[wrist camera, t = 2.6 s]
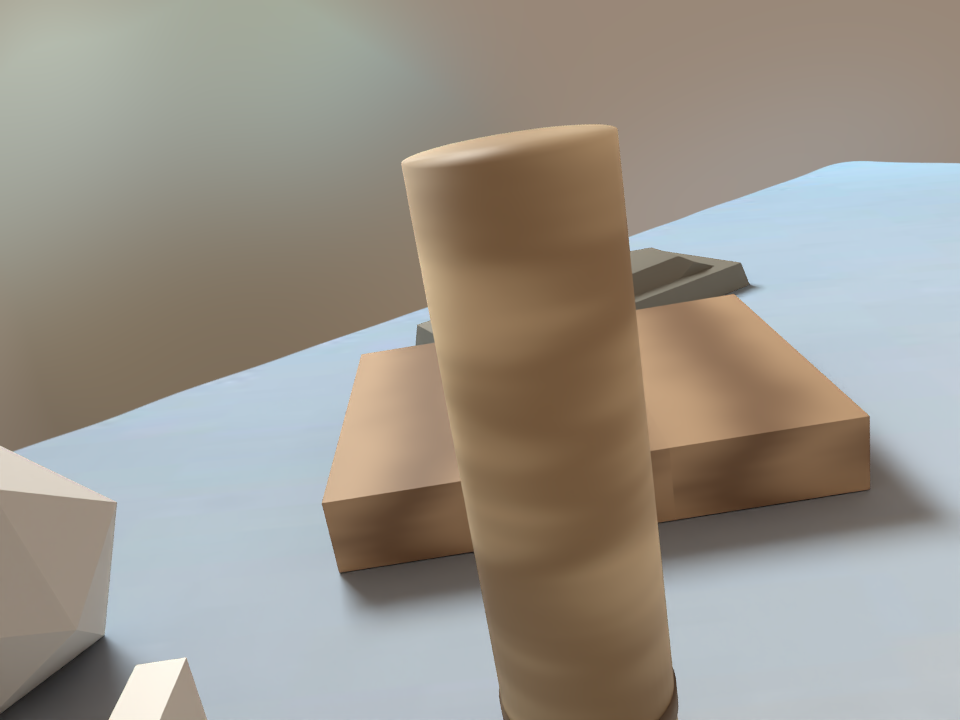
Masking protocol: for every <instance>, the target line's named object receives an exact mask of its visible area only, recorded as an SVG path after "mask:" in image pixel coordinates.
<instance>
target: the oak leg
mask: <svg viewBox="0 0 960 720" xmlns="http://www.w3.org/2000/svg"><path fill="white" fill-rule="evenodd" d="M401 164H402V170H403V175H404V181H405V186H406V191H407V197H408V202H409V208H410V213H411V218H412V224H413V229H414V234H415V240H416V245H417V250H418V256H419V261H420V266H421V271H422V277H423V282H424V288H425V293H426V298H427V304H428V309H429V314H430V320H431V325H432V330H433V336H434V341H435V346H436V352H437V357H438V362H439V368H440V373H441V378H442V384H443V389H444V394H445V400H446V405H447V410H448V416H449V421H450V426H451V431H452V437H453V442H454V447H455V453H456V458H457V463H458V469H459V474H460V479H461V485H462V490H463V495H464V501H465V506H466V511H467V517H468V522H469V527H470V533H471V538H472V543H473V549H474V554H475V559H476V565H477V570H478V575H479V581H480V586H481V591H482V597H483V602H484V607H485V613H486V618H487V623H488V629H489V634H490V639H491V645H492V650H493V655H494V661H495V666H496V671H497V677H498V682H499V699H500V704H501V710H502V715H503V720H678V717H677V714H678V695H677V686H676V677H675V673H674V670H673V667H672V658H671V649H670V639H669V629H668V619H667V609H666V600H665V590H664V580H663V570H662V561H661V551H660V541H659V531H658V521H657V512H656V502H655V492H654V482H653V473H652V463H651V453H650V443H649V433H648V424H647V414H646V404H645V394H644V385H643V375H642V365H641V355H640V346H639V336H638V326H637V316H636V306H635V297H634V287H633V277H632V267H631V258H630V248H629V238H628V229H627V218H626V209H625V199H624V189H623V180H622V170H621V161H620V150H619V140H618V131H617V128H616V127H614V126H610V125H598V124H597V125H596V124H590V125H589V124H587V125H568V126H557V127H547V128H538V129H531V130H523V131H516V132H510V133H504V134H498V135H492V136H486V137H481V138H476V139H471V140H467V141H462V142H458V143H453V144H449V145H445V146H441V147H437V148H434V149H430V150H427V151H424V152H421V153H418V154H415V155H413V156H410V157H408V158H406V159H405V160H403V161H402V163H401Z"/></svg>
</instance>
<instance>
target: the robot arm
mask: <svg viewBox="0 0 960 720" xmlns="http://www.w3.org/2000/svg"><path fill="white" fill-rule="evenodd" d="M109 720H207V718H206V715H205V712H204V709H203V706H202V703H201V700H200V697H199V694H198V691H197V688H196V685H195V682H194V679H193V676H192V673H191V670H190V667H189V664H188V661H187V658H180V659H173V660H166V661H160V662H153V663H147V664H140V665H136V666H135V668H134V670H133V672H132V674H131V676H130V678H129V680H128V682H127V684H126V686H125V688H124V690H123V692H122V694H121V696H120V698H119V700H118V702H117V704H116V706H115V708H114V710H113V712H112V714H111V716H110V718H109Z"/></svg>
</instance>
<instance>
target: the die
mask: <svg viewBox="0 0 960 720" xmlns="http://www.w3.org/2000/svg"><path fill="white" fill-rule="evenodd" d="M116 507H117V502H115V501H113V500H111V499H109V498H107V497H105V496H103V495H101V494H99V493H96V492H94V491H92V490H90V489H88V488H86V487H84V486H82V485H80V484H78V483H76V482H74V481H72V480H70V479H68V478H65V477H63V476H61V475H59V474H57V473H55V472H53V471H51V470H49V469H47V468H45V467H43V466H41V465H39V464H37V463H35V462H32V461H30V460H28V459H26V458H24V457H22V456H20V455H18V454H16V453H14V452H12V451H9V450H8V449H5V448H4V447H1V446H0V714H1V713H2V712H4V711H5V710H6V709H8V708H9V707H10V706H12V705H13V704H14V703H15V702H17V701H18V700H19V699H21V698H22V697H23V696H25V695H26V694H27V693H29V692H30V691H31V690H33V689H34V688H35V687H37V686H38V685H39V684H41V683H42V682H43V681H45V680H46V679H47V678H49V677H50V676H51V675H53V674H54V673H55V672H56V671H58V670H59V669H60V668H62V667H63V666H64V665H66V664H67V663H68V662H70V661H71V660H72V659H74V658H75V657H76V656H78V655H79V654H80V653H82V652H83V651H84V650H86V649H87V648H88V647H90V646H91V645H92V644H94V643H95V642H96V641H98V640H99V639H100V638H101V637H103V636H104V635H105V624H106V614H107V603H108V592H109V582H110V571H111V560H112V550H113V539H114V528H115V518H116Z"/></svg>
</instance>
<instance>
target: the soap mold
mask: <svg viewBox="0 0 960 720" xmlns="http://www.w3.org/2000/svg"><path fill="white" fill-rule="evenodd" d="M630 258H631V267H632V277H633V287H634V297H635V306H636V310H639V309H645V308H651V307H657V306H663V305H670V304H676V303H682V302H688V301H694V300H700V299H706V298H713V297H719V296H723V295H725V294H728V293H730V292H733V291H735V290H738V289H740V288H743V287H745V286H748V285H750V284H749V282H748V279H747V277H746V274H745V272H744V269H743V267H742V264H741V263H739V262H733V261H726V260H719V259H713V258H706V257H699V256H692V255H686V254H679V253H672V252H666V251H661V250H658V249H654V248H646V249H641V250H635V251H630ZM430 343H435V341H434V336H433V330H432V325H431V320H430V321H427V322H424V323H421V324H418V325H417V335H416V346H417V345H424V344H430Z"/></svg>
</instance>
